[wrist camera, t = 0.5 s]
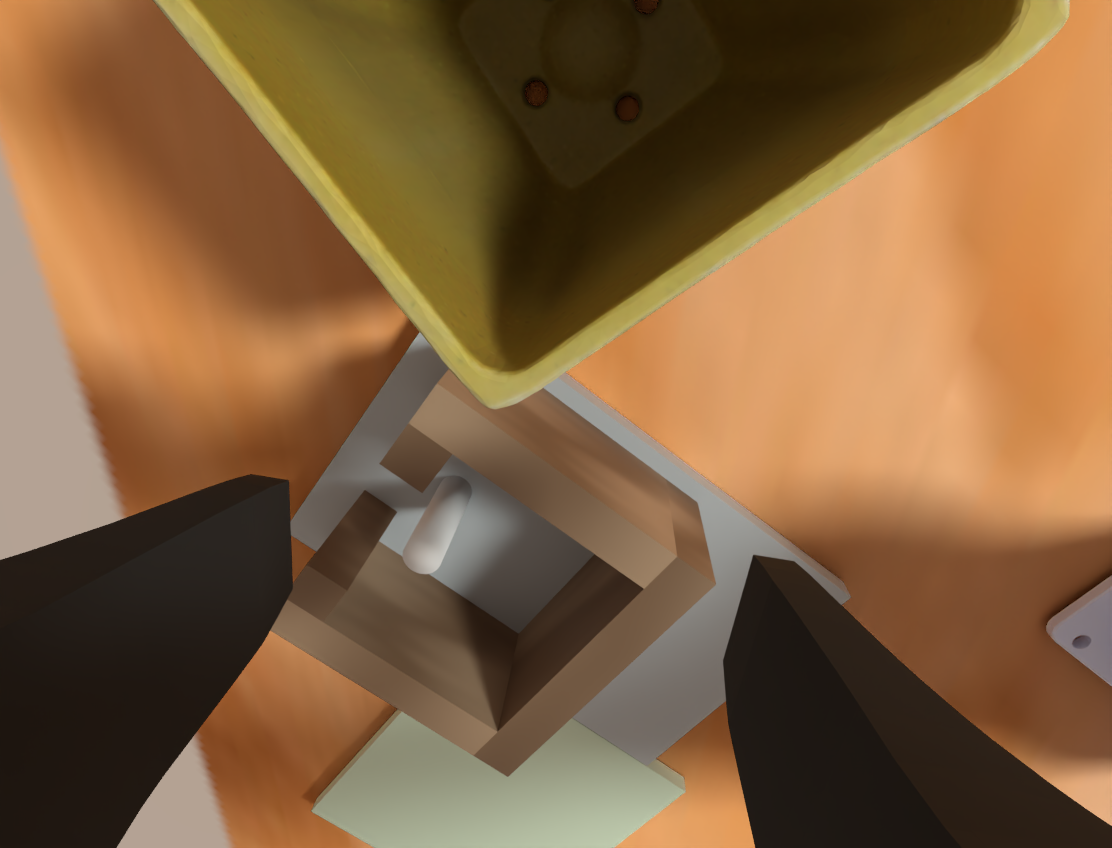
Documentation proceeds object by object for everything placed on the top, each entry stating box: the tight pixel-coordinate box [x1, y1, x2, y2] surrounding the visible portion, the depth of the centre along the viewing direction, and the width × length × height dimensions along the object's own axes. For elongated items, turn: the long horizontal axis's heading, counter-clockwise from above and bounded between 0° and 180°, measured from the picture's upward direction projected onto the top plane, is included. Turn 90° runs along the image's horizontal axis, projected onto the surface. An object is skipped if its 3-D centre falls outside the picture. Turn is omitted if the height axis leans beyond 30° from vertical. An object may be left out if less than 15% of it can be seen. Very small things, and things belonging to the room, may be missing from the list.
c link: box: [271, 369, 716, 777], centre depth 18 cm, size 8×9×4 cm
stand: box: [290, 332, 851, 766], centre depth 19 cm, size 15×10×4 cm, turn 53°
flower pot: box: [153, 0, 1070, 409], centre depth 12 cm, size 9×9×9 cm
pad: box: [311, 709, 686, 848], centre depth 25 cm, size 10×11×1 cm
